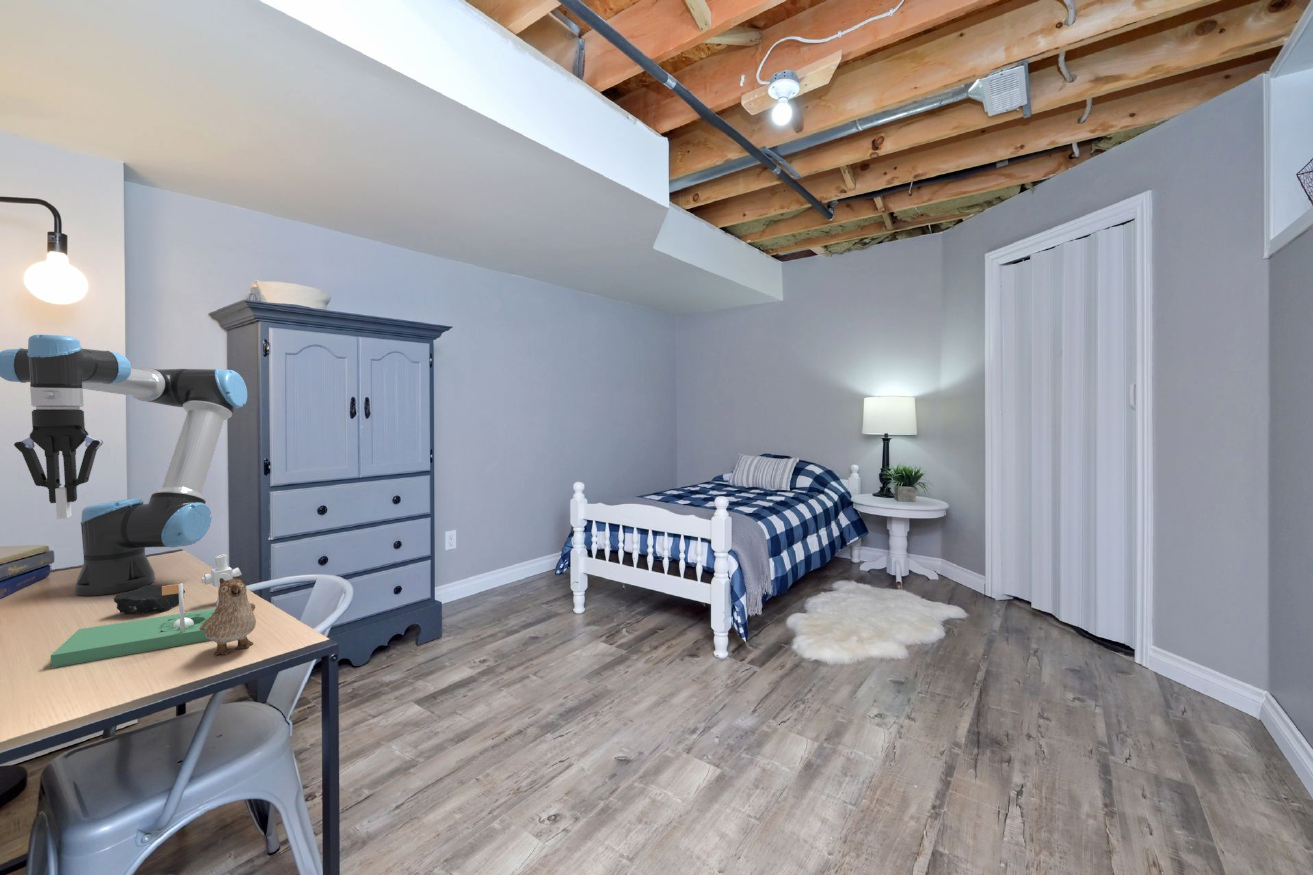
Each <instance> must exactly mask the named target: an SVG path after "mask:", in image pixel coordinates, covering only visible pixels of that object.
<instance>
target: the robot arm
mask: <svg viewBox="0 0 1313 875" xmlns="http://www.w3.org/2000/svg"><path fill="white" fill-rule="evenodd" d="M27 341H28V342H27V343H28V344H27V348H21V347H20V348H7V349H4V350H1V351H0V378H2V379H4V380H5V381H8V382H11V383H12V382H14V383H22V384H26V383H30V384H29V386H30V387H29V389H30V392H29V393H30V402H31V404H30V405H31V406H32V407H35V409H32V411H31V426H32V430H31V432H30V433H29V437H27V438H25V439H23V440H21V441H16V442H15V443H13V446H14V447H15V448H16V449H17V450H18V451H19V452H20V453H21V454H22V457H23V459H24V461H25V464H26V466H27V468H28V471H29V473H30V476H31V477H32V481H33V482H34V485H35V486H37V487H44V488H47V489H48V500H49V503H50V504H55V506H56V507H55V508H56V520H61V519H68V518H70V517H71V518H72V516H73V515H72V514H73V512H72V503H75V502H76V501H77V500H78V490H77V487H78V486H80V485H81V484H82V485H83V484H85V483H88V481H89V479H90V476H91V472H92V469H93V465H94V462H95V458H96V456H97V455H96V454H97V451H98V449H100V447H101V446H102V445H103V444H104V442H103V440H102V439H96V438H94V437H93V436H92V437H91V436H90V435H89V432H88V431H87V430H86V427H85V426H86V424H85V411H84V410H83V409H81V408H83V407H84V404H85V403H84V393H83V392H84V391H83V390H90V391H96V392H102V393H103V392H104V393H111V394H116V395H117V394H118V395H124V396H129V397H132V398H134V399H136V400H138V401H141V402H146V403H147V402H148V403H153V404H160V405H164V406H170V407H175V408H183V410H184V411H185V412H186V416H185V419H184V422H183V425H182V428H181V431H180V433H179V436H178V439H177V442H176V445H175V447H174V451H173V454H172V456H171V459H170V462H169V465H168V467H167V468H168V469H167V471H166V475H165V476H164V480H163V484H162V485H161V488H160V489H159V490H156V491H155V492H153V493H151V496H150V498H149V500H148V503H144V501H143V499H142V498H140V497H138V498H137V497H136V498H135V497H134V498H129V499H128V498H126V499H119V500H114V501H109V502H107V501H106V502H103V503H102V502H101V503H97V504H92V505H87V506H85V507H84V508H83V509H82V511H81V521H80V525H81V526H80V527H81V540H82V553H83V564H82V566H81V569H80V571H79V574H78V577H77V580H76V582H75V590H74V591H75V594H76V595H78V596H84V597H85V596H86V597H87V596H89V597H90V596H91V597H92V596H102V595H110V594H111V595H112V594H119V593H122V592H129V591H133V590H136V589H139V588H140V587H143V586H147V585H152V583H154V582H155V581H156V574H155V570H154V569H153V567H152V565H151V563H150V560H149V559H148V557H147V554H146V548H172V549H173V548H178V547H188V546H192V545H195V544H196V543H197V542H199V541H201V540H202V539H203V538H204V537H205V536H206V534H207V533H208V531H209V529H210V528H211V523H212V516H211V515H212V511H211V509H210V507H209V506H208V505H207V504H206V502H207V501H206V499H205V497H204V496H203V495H202V493H203V489H204V486H205V483H206V479H207V478H208V474H209V469H210V466H211V465H212V464H211V463H212V460H213V457H214V454H215V451H216V447H217V444H218V441H219V439H220V438H219V437H220V434H221V430H222V428H223V425H224V422H225V420H226V421H227V420H228V419H230V418H232V416H233V412H234V411H235V409H239V408H243V407H245V405H246V403H247V401H248V389H247V386H246V383H245V380H244V378H243V377H242V376H241V375H240V373H238V372H236V371H235V370H232V369H221V368H216V369H214V368H213V369H212V368H211V369H210V368H209V369H208V368H207V369H206V368H205V369H203V368H172V369H171V368H168V369H166V368H163V369H161V368H160V369H157V368H150V367H143V368H142V367H141V368H139V369H138V368H132V364H131V362H130V360H129V359H128V358H127V357H126V356H125V355H123V354H121V353H118V352H114V351H111V350H101V349H100V350H98V349H90V348H82V346H81V342H80V340H79V339H78V338H77V337H74V336H68V335H57V334H56V335H55V334H33V335H31V336H29V337H28V340H27ZM84 442H85V443H84ZM83 443H84V445H85V447H86V448H85V451H84V454H83V456H82V460H81V464H80V468H79V472H77V459H76V458H77V457H76V455H77V449H78V448H80V446H81V445H82V444H83ZM36 445H37V446H38V447H39V448H41V450H43V451H44V457H45V463H46V464H45V467H46V468H45V469H46V473H45V471H44V469H43V467H42V466H43V465H42V464H41V462H40V460H39V457H38V454H37V452H36V449H34V448H35V446H36ZM60 452H61V456H62V457H63V458H62V460H63V461H62V462H63V476H64V485H63V486H62V483H61V475H60ZM77 473H78V475H77ZM60 486H61V487H60Z"/></svg>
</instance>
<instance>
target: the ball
mask: <svg viewBox="0 0 1313 875" xmlns="http://www.w3.org/2000/svg"><path fill="white" fill-rule="evenodd" d="M184 619H185V626H191V625H194V622H193V620H192V619H190V618H186V617H184ZM173 627H180V619H178V620H176V621H175V622H174V624H173Z"/></svg>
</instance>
